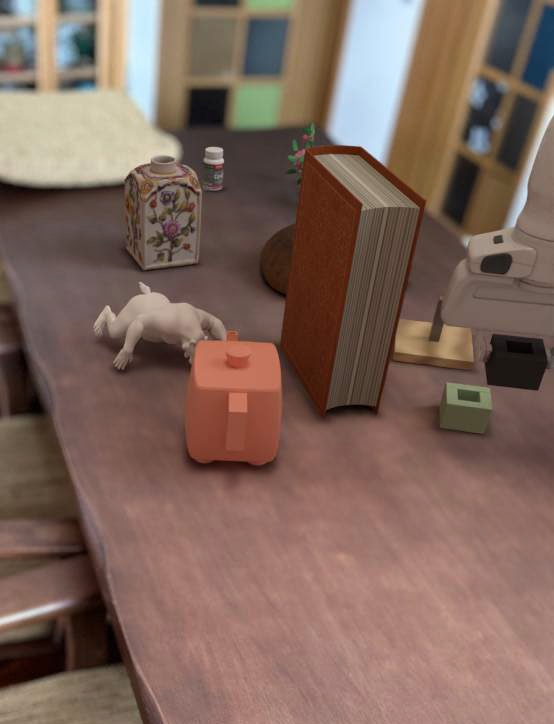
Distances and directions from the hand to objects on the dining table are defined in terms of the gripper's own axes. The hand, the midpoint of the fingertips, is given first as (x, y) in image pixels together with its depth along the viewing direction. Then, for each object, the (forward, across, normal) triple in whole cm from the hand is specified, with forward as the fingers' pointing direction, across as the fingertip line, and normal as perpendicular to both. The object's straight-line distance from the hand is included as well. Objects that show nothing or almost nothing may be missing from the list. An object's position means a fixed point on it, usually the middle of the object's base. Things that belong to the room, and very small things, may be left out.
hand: (514, 363), depth 102 cm
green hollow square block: (+14, +3, -8) cm, 16 cm away
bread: (+13, +25, -53) cm, 60 cm away
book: (+13, +23, -15) cm, 30 cm away
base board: (+13, +7, -29) cm, 32 cm away
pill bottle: (+13, +55, -95) cm, 111 cm away
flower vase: (+13, +31, -91) cm, 97 cm away
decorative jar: (+13, +58, -53) cm, 79 cm away
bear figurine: (+13, +49, -17) cm, 53 cm away
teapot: (+13, +34, +6) cm, 37 cm away
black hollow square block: (+2, 0, 0) cm, 2 cm away
